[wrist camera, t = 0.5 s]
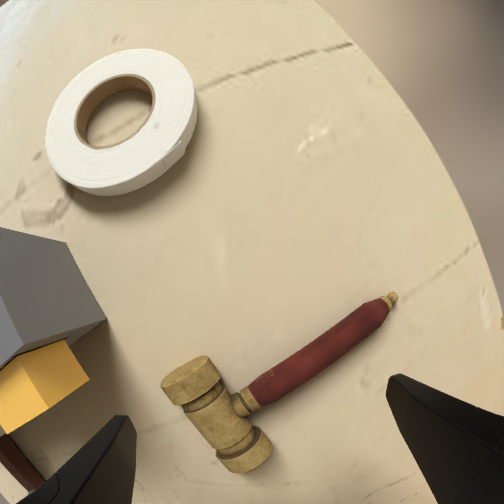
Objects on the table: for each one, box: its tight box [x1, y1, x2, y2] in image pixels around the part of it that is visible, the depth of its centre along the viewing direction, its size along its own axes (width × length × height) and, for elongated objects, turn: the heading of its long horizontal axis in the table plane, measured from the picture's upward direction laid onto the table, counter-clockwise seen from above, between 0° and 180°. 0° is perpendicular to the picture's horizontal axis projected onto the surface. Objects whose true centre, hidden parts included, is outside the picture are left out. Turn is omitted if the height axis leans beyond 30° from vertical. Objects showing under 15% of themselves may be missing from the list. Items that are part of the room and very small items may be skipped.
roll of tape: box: [45, 49, 198, 196], centre depth 24 cm, size 16×15×3 cm
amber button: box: [0, 340, 90, 434], centre depth 15 cm, size 4×6×6 cm, turn 125°
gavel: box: [160, 292, 398, 473], centre depth 23 cm, size 21×5×10 cm
